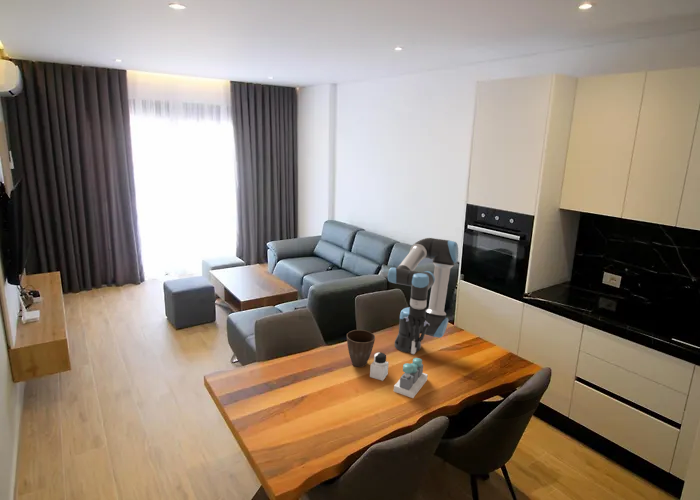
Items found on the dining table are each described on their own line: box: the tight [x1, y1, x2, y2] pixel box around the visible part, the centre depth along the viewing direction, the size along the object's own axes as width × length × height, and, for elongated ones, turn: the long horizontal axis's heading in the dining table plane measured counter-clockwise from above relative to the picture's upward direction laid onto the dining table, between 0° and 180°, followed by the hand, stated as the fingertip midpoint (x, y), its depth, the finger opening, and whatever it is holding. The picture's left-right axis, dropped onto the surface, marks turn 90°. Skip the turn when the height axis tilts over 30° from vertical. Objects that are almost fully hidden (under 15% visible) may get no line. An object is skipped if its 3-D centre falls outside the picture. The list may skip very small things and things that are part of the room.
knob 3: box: [409, 362, 418, 373], centre depth 209 cm, size 5×5×8 cm
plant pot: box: [346, 329, 376, 368], centre depth 227 cm, size 15×15×16 cm
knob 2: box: [412, 357, 423, 367], centre depth 215 cm, size 5×5×8 cm
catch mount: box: [393, 363, 429, 399], centre depth 210 cm, size 10×19×8 cm, turn 150°
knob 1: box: [402, 362, 413, 379], centre depth 203 cm, size 5×5×8 cm
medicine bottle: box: [369, 352, 389, 382], centre depth 217 cm, size 7×7×12 cm
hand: (413, 352), depth 206 cm, fingers closed
